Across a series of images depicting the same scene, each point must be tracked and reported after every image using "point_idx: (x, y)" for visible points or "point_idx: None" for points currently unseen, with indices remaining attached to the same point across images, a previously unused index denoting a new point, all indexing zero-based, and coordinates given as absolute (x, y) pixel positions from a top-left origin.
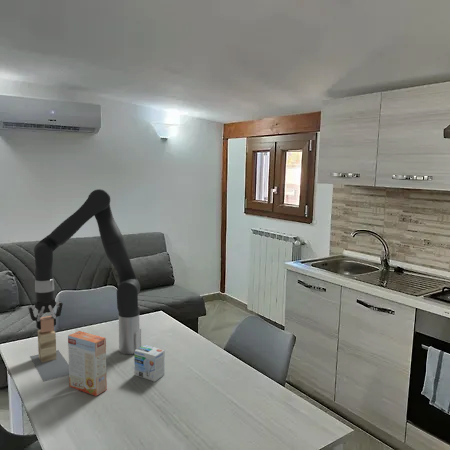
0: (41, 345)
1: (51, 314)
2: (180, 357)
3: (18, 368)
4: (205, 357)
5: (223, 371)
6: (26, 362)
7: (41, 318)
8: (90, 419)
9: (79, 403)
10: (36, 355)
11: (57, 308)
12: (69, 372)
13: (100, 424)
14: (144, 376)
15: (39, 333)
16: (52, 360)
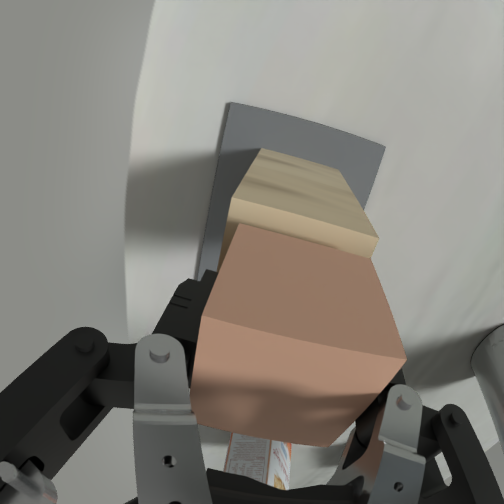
0: None
1: (375, 429)
2: (482, 421)
3: (145, 188)
4: (489, 434)
5: (447, 465)
6: (193, 151)
7: (226, 370)
8: (214, 459)
9: (221, 438)
10: (262, 117)
11: (460, 491)
12: (230, 439)
13: (220, 468)
14: None
15: (218, 271)
16: None
